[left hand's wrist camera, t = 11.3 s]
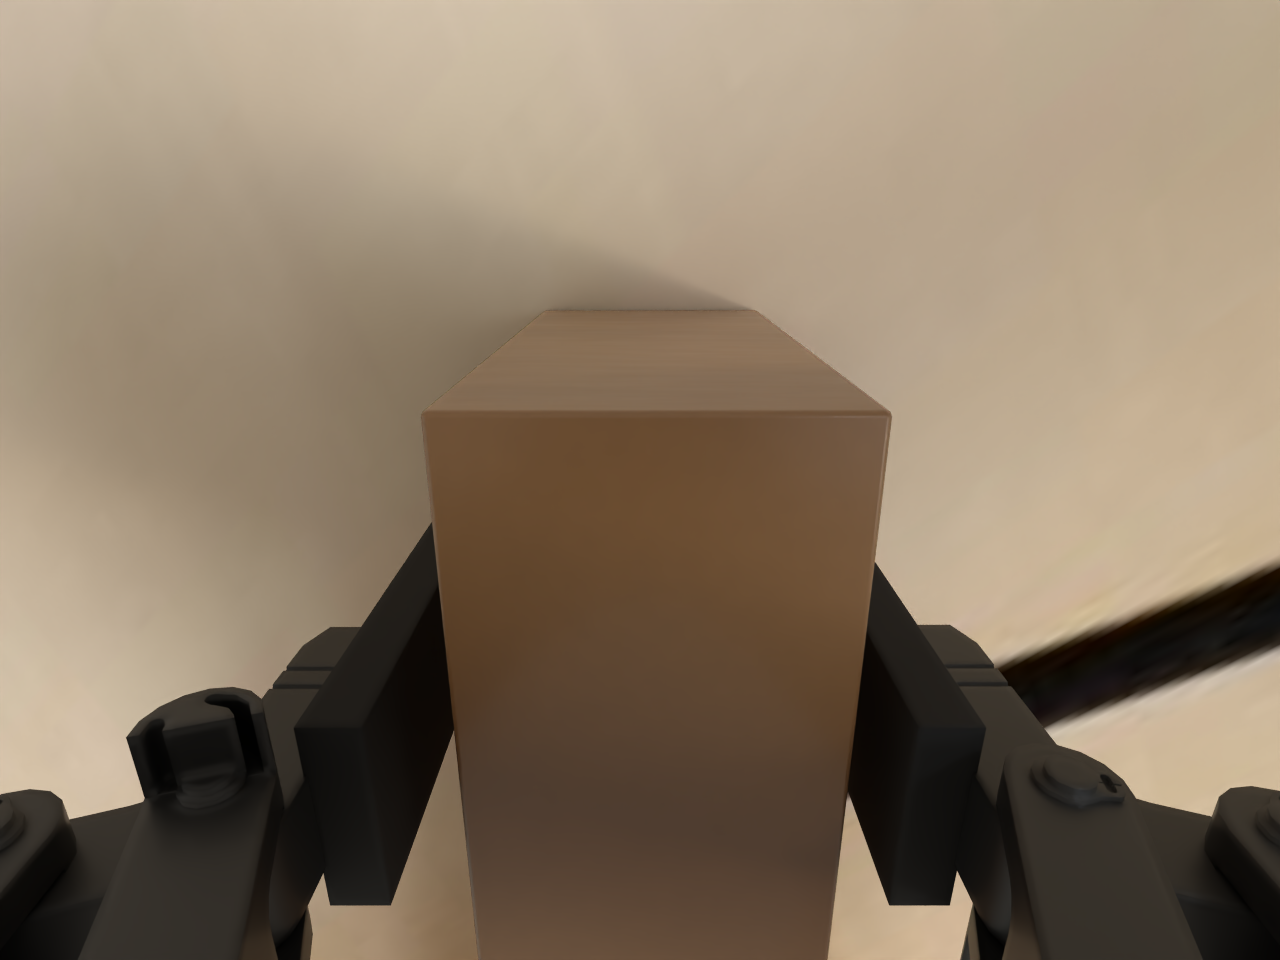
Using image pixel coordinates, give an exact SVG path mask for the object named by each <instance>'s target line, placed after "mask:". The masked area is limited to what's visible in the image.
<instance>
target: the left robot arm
mask: <svg viewBox="0 0 1280 960" xmlns="http://www.w3.org/2000/svg"><path fill="white" fill-rule="evenodd" d="M1007 683H1008V682H1007V681H1006V679H1005V678H1004V677H1003V676H1002V674H1001V673H1000V672H999V670H998V669H994V664H993V663H992V661H991V660H990V659H989V658H988V656H987V655H986V654H985V653H984V651H983V650H982V649H981V647H980V646H979V645H978V644H977V643H976V642H975V641H973V640H972V639H970V638H969V637H967V636H966V635H964V634H963V633H961V632H960V631H958V630H957V629H955V628H954V627H952V626H951V625H917V624H916V622H915V621H914V619H913V618H912V616H911V615H910V613H909V612H908V610H907V609H906V607H905V606H904V604H903V603H902V601H901V600H900V598H899V597H898V595H897V594H896V592H895V591H894V589H893V588H892V586H891V585H890V584H889V582H888V581H887V579H886V578H885V576H884V575H883V573H882V572H881V570H880V569H879V567H878V566H877V564H876V563H874V572H873V580H872V588H871V597H870V605H869V614H868V622H867V631H866V639H865V647H864V656H863V664H862V673H861V681H860V690H859V698H858V706H857V715H856V723H855V732H854V740H853V748H852V757H851V765H850V774H849V782H848V792H849V795H850V798H851V800H852V803H853V806H854V809H855V812H856V814H857V817H858V820H859V823H860V825H861V828H862V831H863V834H864V837H865V839H866V842H867V845H868V848H869V850H870V853H871V856H872V859H873V862H874V864H875V867H876V870H877V873H878V876H879V878H880V881H881V884H882V887H883V889H884V892H885V895H886V898H887V901H888V903H889V905H950V902H951V897H952V892H953V887H954V882H955V877H956V873H957V871H958V873H959V875H960V877H961V879H962V881H963V884H964V886H965V888H966V890H967V892H968V894H969V896H970V898H971V900H972V902H973V905H972V910H971V914H970V919H969V923H968V928H967V932H966V937H965V941H964V946H963V950H962V955H961V959H960V960H1280V791H1277V790H1271V789H1265V788H1259V787H1253V786H1248V787H1238V788H1230V789H1229V790H1228V791H1226V792H1225V793H1224V794H1222V795H1221V796H1220V797H1219V799H1218V801H1217V804H1216V807H1215V810H1214V812H1213V815H1212V817H1211V816H1206V815H1202V814H1197V813H1193V812H1189V811H1184V810H1180V809H1175V808H1171V807H1166V806H1162V805H1158V804H1153V803H1149V802H1146V801H1142V800H1139V799H1136V798H1135V796H1134V795H1133V793H1132V792H1131V790H1130V789H1129V787H1128V786H1127V785H1126V783H1125V782H1124V780H1123V779H1121V778H1120V777H1119V776H1118V775H1117V774H1115V773H1114V772H1113V771H1112V770H1110V769H1109V768H1108V767H1107V766H1106V765H1104V764H1102V763H1100V762H1099V761H1097V760H1095V759H1093V758H1091V757H1089V756H1087V755H1085V754H1083V753H1081V752H1078V751H1075V750H1072V749H1068V748H1065V747H1062V746H1058V745H1057V744H1056V743H1055V742H1054V741H1053V739H1052V738H1051V737H1050V736H1049V734H1048V733H1047V732H1046V730H1045V729H1044V728H1043V727H1042V725H1041V724H1040V723H1039V722H1038V720H1037V719H1036V718H1035V716H1034V715H1033V714H1032V713H1031V711H1030V710H1029V709H1028V707H1027V706H1026V705H1025V704H1024V702H1023V701H1022V700H1021V699H1020V697H1019V696H1018V695H1017V693H1016V692H1015V691H1014V690H1013V688H1012V687H1008V684H1007ZM453 731H454V723H453V714H452V705H451V695H450V686H449V676H448V667H447V657H446V648H445V638H444V629H443V620H442V610H441V601H440V591H439V582H438V572H437V563H436V554H435V544H434V535H433V525H432V523H431V524H430V526H429V527H428V528H427V530H426V531H425V533H424V534H423V536H422V537H421V539H420V540H419V542H418V543H417V545H416V546H415V548H414V549H413V551H412V552H411V554H410V555H409V557H408V558H407V560H406V561H405V563H404V564H403V566H402V567H401V569H400V570H399V572H398V573H397V575H396V576H395V578H394V579H393V581H392V582H391V583H390V585H389V586H388V588H387V589H386V591H385V592H384V594H383V595H382V597H381V598H380V600H379V601H378V603H377V604H376V606H375V607H374V609H373V610H372V612H371V613H370V615H369V616H368V618H367V619H366V621H365V622H364V624H363V625H362V627H330V628H328V629H327V630H325V631H324V632H323V633H321V634H320V635H318V636H317V637H315V638H314V639H312V640H311V641H309V642H308V643H306V644H305V645H303V646H302V648H301V649H300V650H299V652H298V653H297V654H296V655H295V657H294V658H293V659H292V661H291V662H290V663H289V664H288V666H287V670H286V671H283V672H282V673H281V675H280V676H279V677H278V679H277V680H276V681H275V682H274V684H273V689H269V690H268V691H267V693H266V694H265V695H264V697H263V698H262V699H261V698H259V697H258V696H257V695H256V694H254V693H253V692H252V691H250V690H245V689H240V688H235V687H227V688H213V689H207V690H203V691H199V692H196V693H192V694H188V695H184V696H182V697H180V698H178V699H176V700H173V701H171V702H169V703H167V704H165V705H163V706H160V707H159V708H157V709H156V710H154V711H153V712H152V713H150V714H149V715H147V716H146V717H145V718H143V719H142V720H140V721H139V722H138V723H137V725H136V726H135V727H134V728H133V730H132V731H131V732H130V733H129V735H128V736H127V737H126V739H127V742H128V745H129V748H130V751H131V755H132V758H133V761H134V764H135V768H136V771H137V774H138V777H139V781H140V784H141V787H142V790H143V794H144V797H145V799H144V802H141V803H138V804H135V805H131V806H127V807H123V808H118V809H114V810H110V811H105V812H101V813H96V814H92V815H88V816H83V817H79V818H74V819H70V820H69V818H68V815H67V812H66V810H65V807H64V804H63V801H62V800H61V799H60V798H59V797H57V796H56V795H55V794H53V793H52V792H51V791H43V790H32V789H28V790H22V791H17V792H11V793H5V794H1V795H0V960H310V955H311V945H312V936H313V933H312V926H311V919H310V914H309V910H308V904H309V902H310V900H311V898H312V895H313V893H314V891H315V889H316V887H317V885H318V883H319V881H320V879H321V877H322V875H323V873H324V878H325V882H326V887H327V892H328V897H329V902H330V905H391V903H392V900H393V898H394V895H395V892H396V889H397V887H398V884H399V881H400V878H401V875H402V873H403V870H404V867H405V864H406V862H407V859H408V856H409V853H410V850H411V848H412V845H413V842H414V839H415V837H416V834H417V831H418V828H419V825H420V823H421V820H422V817H423V814H424V812H425V809H426V806H427V803H428V800H429V798H430V795H431V792H432V789H433V787H434V784H435V781H436V778H437V775H438V773H439V770H440V767H441V764H442V762H443V759H444V756H445V753H446V750H447V748H448V745H449V742H450V739H451V736H452V734H453Z"/></svg>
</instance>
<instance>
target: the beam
mask: <svg viewBox="0 0 1280 960" xmlns="http://www.w3.org/2000/svg"><path fill="white" fill-rule="evenodd" d="M891 420H892V416H891V413H890V411H888V410H887V409H886V408H884V407H883V406H882V405H880V404H879V403H878V402H876V401H875V400H874V399H872V398H871V397H870V396H868V395H867V394H866V393H865V392H863V391H862V390H861V389H859V388H858V387H857V386H855V385H854V384H853V383H851V382H850V381H849V380H847V379H846V378H845V377H843V376H842V375H841V374H839V373H838V372H837V371H835V370H834V369H833V368H831V367H830V366H829V365H827V364H826V363H825V362H823V361H822V360H821V359H820V358H818V357H817V356H816V355H814V354H813V353H812V352H810V351H809V350H808V349H806V348H805V347H804V346H802V345H801V344H800V343H798V342H797V341H796V340H794V339H793V338H792V337H790V336H789V335H788V334H786V333H785V332H784V331H782V330H781V329H780V328H778V327H777V326H776V325H775V324H773V323H772V322H771V321H769V320H768V319H767V318H765V317H764V316H763V315H761V314H760V313H759V312H757V311H755V310H645V311H544V312H543V313H542V314H540V315H539V316H538V317H537V318H536V319H534V320H533V321H532V322H531V323H529V324H528V325H527V326H526V327H525V328H523V329H522V330H521V331H520V332H519V333H517V334H516V335H515V336H514V337H513V338H511V339H510V340H509V341H508V342H506V343H505V344H504V345H503V346H502V347H500V348H499V349H498V350H497V351H496V352H494V353H493V354H492V355H491V356H490V357H488V358H487V359H486V360H485V361H483V362H482V363H481V364H480V365H479V366H477V367H476V368H475V369H474V370H473V371H471V372H470V373H469V374H468V375H467V376H465V377H464V378H463V379H462V380H460V381H459V382H458V383H457V384H456V385H454V386H453V387H452V388H451V389H450V390H448V391H447V392H446V393H445V394H444V395H442V396H441V397H440V398H439V399H437V400H436V401H435V402H434V403H433V404H431V405H430V406H429V407H428V408H427V409H425V410H424V411H423V412H422V415H421V421H422V431H423V440H424V450H425V459H426V469H427V478H428V487H429V497H430V506H431V516H432V525H433V535H434V544H435V554H436V563H437V572H438V582H439V591H440V601H441V610H442V620H443V629H444V638H445V648H446V657H447V667H448V676H449V686H450V695H451V705H452V714H453V723H454V733H455V742H456V752H457V761H458V771H459V780H460V790H461V799H462V808H463V818H464V827H465V837H466V846H467V856H468V865H469V875H470V884H471V893H472V903H473V912H474V922H475V931H476V941H477V950H478V960H827V959H828V951H829V942H830V934H831V925H832V917H833V909H834V900H835V892H836V883H837V875H838V866H839V858H840V850H841V841H842V833H843V824H844V816H845V807H846V799H847V791H848V782H849V774H850V765H851V757H852V748H853V740H854V732H855V723H856V715H857V706H858V698H859V690H860V681H861V673H862V664H863V656H864V647H865V639H866V631H867V622H868V614H869V605H870V597H871V588H872V580H873V572H874V563H875V555H876V546H877V538H878V529H879V521H880V513H881V504H882V496H883V487H884V479H885V471H886V462H887V454H888V445H889V437H890V428H891Z"/></svg>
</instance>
